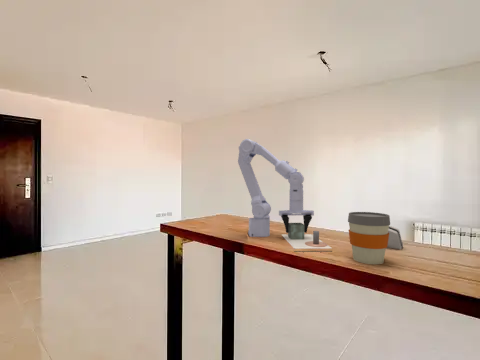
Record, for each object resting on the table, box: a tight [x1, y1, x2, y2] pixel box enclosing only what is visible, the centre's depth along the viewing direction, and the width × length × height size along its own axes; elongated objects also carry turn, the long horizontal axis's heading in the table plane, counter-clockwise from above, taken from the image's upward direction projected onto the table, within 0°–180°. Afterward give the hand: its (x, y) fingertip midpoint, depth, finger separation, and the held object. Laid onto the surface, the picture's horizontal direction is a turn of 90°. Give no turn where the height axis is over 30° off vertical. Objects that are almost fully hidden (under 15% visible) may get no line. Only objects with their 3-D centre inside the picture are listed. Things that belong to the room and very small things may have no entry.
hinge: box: [387, 225, 404, 250], centre depth 108 cm, size 17×5×10 cm, turn 48°
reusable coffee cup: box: [347, 211, 391, 265], centre depth 88 cm, size 13×13×15 cm
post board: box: [280, 230, 333, 253], centre depth 110 cm, size 14×24×6 cm, turn 2°
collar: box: [287, 222, 305, 239], centre depth 114 cm, size 6×6×6 cm
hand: (296, 232), depth 114 cm, fingers open, 7 cm apart
